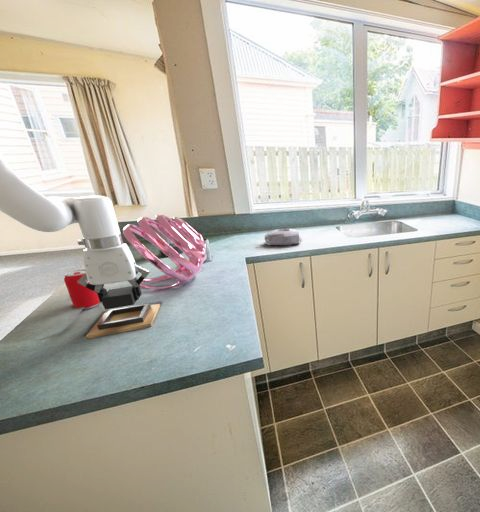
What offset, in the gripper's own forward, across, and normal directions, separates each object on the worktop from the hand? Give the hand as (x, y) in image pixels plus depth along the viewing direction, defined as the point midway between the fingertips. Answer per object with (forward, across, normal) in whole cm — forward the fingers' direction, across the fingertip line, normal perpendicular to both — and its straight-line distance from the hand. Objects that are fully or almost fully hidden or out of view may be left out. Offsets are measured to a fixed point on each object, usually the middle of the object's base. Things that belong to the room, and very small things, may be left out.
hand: (122, 300), depth 86 cm
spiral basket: (+7, +9, +28) cm, 30 cm away
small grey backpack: (+7, +56, +70) cm, 90 cm away
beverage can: (+7, -14, +17) cm, 23 cm away
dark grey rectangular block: (+1, 0, 0) cm, 1 cm away
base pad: (+7, 0, 0) cm, 7 cm away
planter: (+7, +18, +53) cm, 56 cm away
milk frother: (+7, +1, +76) cm, 76 cm away
